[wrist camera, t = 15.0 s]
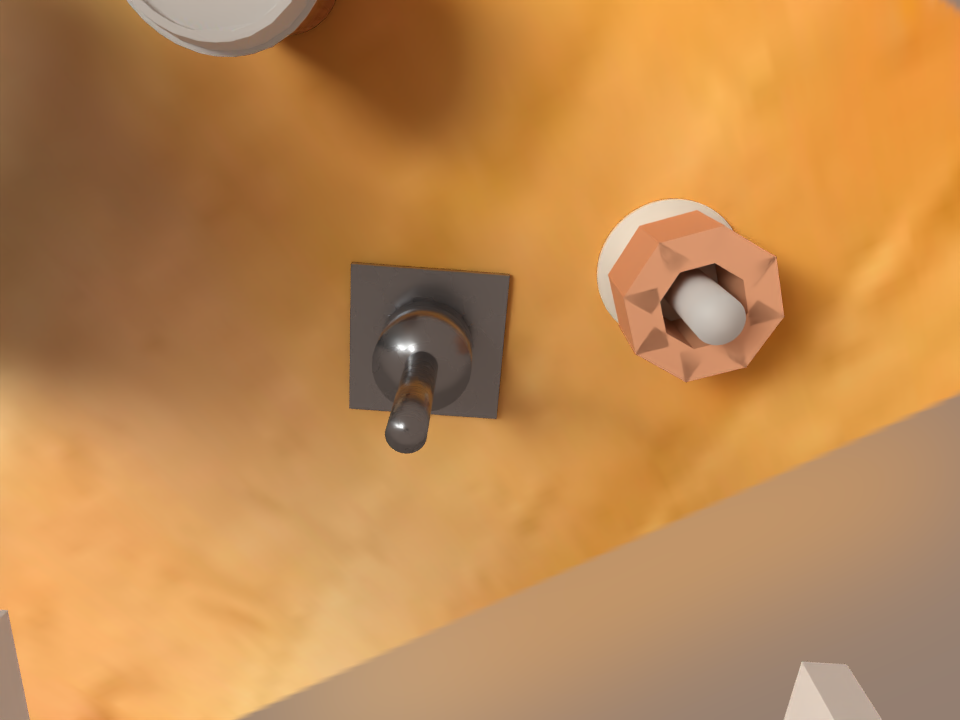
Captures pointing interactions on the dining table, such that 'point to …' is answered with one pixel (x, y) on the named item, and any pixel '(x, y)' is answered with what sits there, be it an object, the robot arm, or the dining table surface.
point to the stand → (425, 345)
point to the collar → (654, 269)
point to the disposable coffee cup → (231, 22)
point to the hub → (678, 278)
